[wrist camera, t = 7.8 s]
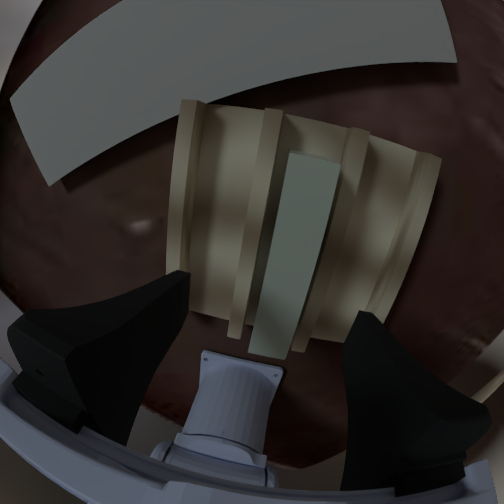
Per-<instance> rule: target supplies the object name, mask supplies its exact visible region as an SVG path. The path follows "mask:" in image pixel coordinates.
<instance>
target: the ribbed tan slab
mask: <svg viewBox="0 0 504 504" xmlns="http://www.w3.org/2000/svg"><path fill="white" fill-rule="evenodd" d="M291 149H292V150H297V151H302V152H306V153H311V154H315V155H319V156H324V157H328V158H330V159H332V160H334V161H335V162H337V163H339V164H341V167H340V171H339V176H338V180H337V185H336V189H335V193H334V197H333V201H332V205H331V209H330V213H329V217H328V221H327V225H326V229H325V233H324V236H323V240H322V244H321V247H320V251H319V255H318V258H317V262H316V265H315V269H314V272H313V275H312V279H311V282H310V285H309V289H308V292H307V295H306V298H305V302H304V305H303V308H302V311H301V314H300V317H299V320H298V323H297V326H296V329H295V332H294V335H293V338H292V349H291V350H293V351H298V352H304V351H305V349H306V346H307V344H308V341H309V339H310V337H312V338H318V339H323V340H329V341H335V342H342V343H344V341H345V339H346V337H347V335H348V333H349V331H350V329H351V327H352V325H353V322H354V320H355V318H356V316H357V314H358V311H359V310H361V311H366V312H372V313H373V314H374V315H375V316H376V317H377V318H378V319H379V320H380V321H381V322H382V323H384V321H385V319H386V317H387V315H388V313H389V311H390V309H391V306H392V304H393V302H394V300H395V298H396V296H397V293H398V291H399V289H400V287H401V284H402V282H403V280H404V277H405V275H406V272H407V270H408V267H409V265H410V262H411V260H412V257H413V254H414V252H415V249H416V246H417V244H418V241H419V238H420V235H421V232H422V229H423V226H424V223H425V220H426V217H427V214H428V210H429V207H430V204H431V200H432V197H433V193H434V189H435V186H436V182H437V178H438V174H439V169H440V165H441V160H442V159H441V158H439V157H437V156H434V155H432V154H430V153H424V152H418V151H415V150H412V149H409V148H407V147H404V146H401V145H398V144H396V143H393V142H390V141H387V140H384V139H381V138H378V137H375V136H372V135H370V132H369V131H365V130H362V129H359V128H355V127H351V128H344V127H340V126H337V125H333V124H329V123H325V122H320V121H316V120H312V119H307V118H303V117H298V116H293V115H288V114H284V111H283V110H277V109H271V108H265V110H258V109H251V108H244V107H236V106H227V105H217V104H207V103H206V104H204V102H201V101H199V100H188V99H182V100H181V106H180V112H179V119H178V126H177V133H176V141H175V149H174V158H173V167H172V177H171V188H170V200H169V214H168V231H167V256H166V275H167V274H169V273H171V272H173V271H176V270H181V271H185V272H189V273H191V280H190V294H189V310H191V311H195V312H199V313H203V314H206V315H210V316H214V317H218V318H222V319H226V320H230V321H229V328H228V334H227V337H231V338H236V339H240V338H241V334H242V331H243V327H244V324H248V325H252V326H254V323H255V318H256V314H257V309H258V305H259V300H260V295H261V291H262V286H263V281H264V277H265V272H266V267H267V262H268V258H269V253H270V248H271V243H272V238H273V233H274V228H275V223H276V218H277V214H278V209H279V204H280V198H281V193H282V188H283V183H284V178H285V173H286V168H287V162H288V157H289V152H290V150H291Z"/></svg>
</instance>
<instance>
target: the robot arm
mask: <svg viewBox="0 0 504 504" xmlns="http://www.w3.org/2000/svg"><path fill="white" fill-rule="evenodd" d="M190 280H191V273H189V272H185V271H181V270H176V271H173V272H171V273H169V274H167V275H165V276H163V277H161V278H159V279H156V280H154V281H152V282H150V283H148V284H146V285H144V286H142V287H139V288H137V289H134V290H132V291H130V292H127V293H125V294H122V295H119V296H117V297H114V298H110V299H107V300H104V301H100V302H96V303H91V304H86V305H82V306H76V307H69V308H60V309H29V310H27V311H26V312H25V313H24V314H23V315H22V316H20V318H18V319H17V320H16V321H15V322H14V323H13V324H12V325H11V326H9V327H8V331H7V336H8V341H9V343H10V346H11V348H12V350H13V352H14V354H15V356H16V358H17V360H18V362H19V364H20V366H21V368H22V370H23V371H22V372H21V373H20V374H19V375H18V374H17V373H16V372H15V370H14V369H13V368H12V367H10V366H9V365H8V364H7V363H6V362H5V361H3V360H2V359H1V358H0V437H1V438H2V439H3V440H4V441H5V442H6V443H7V444H8V445H9V446H10V447H11V448H12V449H14V450H15V451H16V452H17V453H18V454H19V455H20V456H22V457H23V458H24V459H25V460H26V461H28V462H29V463H30V464H31V465H32V466H34V467H35V468H36V469H38V470H39V471H40V472H41V473H43V474H44V475H46V476H47V477H48V478H49V479H51V480H52V481H54V482H55V483H57V484H58V485H60V486H61V487H63V488H64V489H66V490H67V491H69V492H70V493H72V494H74V495H75V496H77V497H78V498H80V499H82V500H83V501H85V502H87V504H497V503H498V501H497V496H496V491H495V486H494V482H493V478H492V474H491V470H490V467H489V463H488V460H487V459H483V460H480V461H477V462H474V463H471V464H469V465H467V466H465V467H464V466H463V462H462V461H464V460H466V458H467V456H466V452H465V451H466V450H467V449H469V448H470V447H471V446H472V445H473V444H475V443H476V442H477V441H478V440H479V439H480V438H481V437H482V436H483V435H484V434H485V433H486V432H487V431H488V429H489V428H490V426H491V424H492V418H491V416H490V413H489V411H488V409H487V407H486V405H484V404H482V403H479V402H477V401H475V400H473V399H471V398H468V397H467V396H465V395H463V394H461V393H460V392H458V391H456V390H454V389H453V388H451V387H450V386H448V385H447V384H445V383H444V382H443V381H441V380H440V379H438V378H437V377H436V376H434V375H433V374H432V373H431V372H429V371H428V370H427V369H426V368H425V367H424V366H422V365H421V364H420V363H419V362H418V361H417V360H416V359H415V358H414V357H413V356H412V355H411V354H410V353H409V352H408V351H407V350H406V349H405V348H404V347H403V346H402V345H401V344H400V343H399V341H398V340H397V339H396V338H395V337H394V336H393V335H392V334H391V333H390V331H389V330H388V329H387V328H386V327H385V326H384V325H383V323H382V322H381V321H380V320H379V319H378V318H377V317H376V316H375V315H374V314H373V313H372V312H366V311H361V310H359V311H358V314H357V316H356V318H355V320H354V322H353V325H352V327H351V329H350V331H349V333H348V335H347V337H346V339H345V341H344V343H343V345H342V366H343V374H344V382H345V389H346V397H347V405H348V438H347V450H346V459H345V466H344V473H343V478H342V483H341V487H340V491H305V490H290V489H280V488H279V479H278V475H277V474H276V472H275V471H274V469H273V467H271V466H266V460H267V456H266V455H262V452H263V446H264V440H265V433H266V427H267V420H268V413H269V407H270V405H271V402H272V400H273V397H274V395H275V392H276V390H277V387H278V385H279V382H280V380H281V377H282V375H283V368H281V367H277V366H272V365H267V364H262V363H257V362H253V361H248V360H244V359H239V358H235V357H231V356H227V355H223V354H219V353H215V352H211V351H207V350H204V351H203V352H202V354H201V367H200V384H199V389H198V392H197V395H196V397H195V400H194V402H193V405H192V408H191V410H190V413H189V415H188V418H187V420H186V423H185V426H184V428H183V431H182V433H177V436H176V438H175V441H174V442H173V441H170V440H165V441H164V442H162V443H159V444H158V445H157V446H156V447H155V449H154V451H153V452H152V454H151V456H150V457H149V456H146V455H144V454H141V453H139V452H136V451H134V450H132V449H129V448H127V447H126V445H127V441H128V438H129V435H130V432H131V429H132V426H133V423H134V421H135V418H136V415H137V412H138V410H139V407H140V405H141V402H142V400H143V398H144V395H145V393H146V390H147V388H148V386H149V384H150V381H151V379H152V377H153V375H154V373H155V371H156V369H157V367H158V366H159V364H160V362H161V361H162V359H163V358H164V356H165V354H166V353H167V351H168V350H169V348H170V346H171V345H172V343H173V342H174V340H175V338H176V337H177V335H178V333H179V332H180V330H181V328H182V326H183V323H184V321H185V319H186V316H187V314H188V311H189V294H190ZM206 358H207V359H206ZM276 374H278V375H276Z"/></svg>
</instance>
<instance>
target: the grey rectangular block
mask: <svg viewBox="0 0 504 504" xmlns="http://www.w3.org/2000/svg"><path fill="white" fill-rule="evenodd" d="M400 62H451V63H457V59H456V54H455V49H454V45H453V41H452V37H451V33H450V29H449V26H448V22H447V19H446V16H445V13H444V9H443V6H442V3H441V1H440V0H123V1H121V2H119V3H118V4H116V5H115V6H113V7H112V8H110V9H109V10H107V11H106V12H104V13H103V14H101V15H100V16H98V17H97V18H95V19H94V20H93V21H91V22H90V23H89V24H87V25H86V26H85V27H83V28H82V29H81V30H79V31H78V32H77V33H76V34H74V35H73V36H72V37H71V38H70V39H68V40H67V41H66V42H65V43H64V44H63V45H61V46H60V47H59V48H58V49H57V50H56V51H55V52H54V53H53V54H51V55H50V56H49V57H48V58H47V59H46V60H45V61H44V62H43V63H42V64H41V65H40V66H39V67H38V68H37V69H36V70H35V71H34V72H33V73H32V74H31V75H30V76H29V78H28V79H27V80H26V81H25V82H24V83H23V84H22V85H21V86H20V88H19V89H18V90H17V91H16V92H15V93H14V95H13V96H12V97H11V98H10V102H11V105H12V107H13V110H14V113H15V115H16V118H17V120H18V123H19V125H20V128H21V130H22V132H23V135H24V137H25V139H26V141H27V144H28V146H29V148H30V150H31V152H32V154H33V156H34V159H35V161H36V163H37V165H38V167H39V169H40V171H41V172H42V174H43V176H44V178H45V180H46V182H47V184H48V186H50V185H52V184H53V183H54V182H56V181H57V180H59V179H60V178H62V177H63V176H65V175H66V174H68V173H69V172H71V171H72V170H74V169H75V168H77V167H78V166H80V165H82V164H83V163H85V162H86V161H88V160H90V159H91V158H93V157H95V156H96V155H98V154H100V153H102V152H103V151H105V150H107V149H109V148H110V147H112V146H114V145H116V144H118V143H120V142H121V141H123V140H125V139H127V138H129V137H131V136H133V135H135V134H137V133H139V132H141V131H143V130H145V129H147V128H149V127H151V126H153V125H156V124H158V123H160V122H162V121H164V120H167V119H169V118H171V117H174V116H176V115H178V114H179V112H180V106H181V100H182V99H188V100H199V101H201V102H204V104H206V103H209V102H211V101H214V100H217V99H220V98H223V97H226V96H229V95H232V94H235V93H238V92H241V91H244V90H247V89H251V88H254V87H258V86H261V85H265V84H269V83H272V82H276V81H280V80H284V79H288V78H293V77H297V76H302V75H306V74H311V73H317V72H322V71H328V70H334V69H340V68H347V67H354V66H363V65H372V64H384V63H400Z"/></svg>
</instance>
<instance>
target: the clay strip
mask: <svg viewBox="0 0 504 504" xmlns="http://www.w3.org/2000/svg"><path fill="white" fill-rule="evenodd" d="M340 167H341V164H339V163H337V162H335V161H334V160H332V159H330V158H328V157H324V156H319V155H315V154H311V153H306V152H302V151H297V150H292V149H291V150H290V152H289V157H288V162H287V168H286V173H285V178H284V183H283V188H282V193H281V198H280V204H279V209H278V214H277V218H276V223H275V228H274V233H273V238H272V243H271V248H270V253H269V258H268V262H267V267H266V272H265V277H264V281H263V286H262V291H261V295H260V300H259V305H258V309H257V314H256V318H255V323H254V327H253V332H252V336H251V341H250V345H249V350H248V352H249V353H254V354H258V355H263V356H268V357H273V358H278V359H283V360H285V358H286V355H287V353H288V350H289V347H290V344H291V341H292V338H293V335H294V332H295V329H296V326H297V323H298V320H299V317H300V314H301V311H302V308H303V305H304V302H305V298H306V295H307V292H308V289H309V285H310V282H311V279H312V275H313V272H314V269H315V265H316V262H317V258H318V255H319V251H320V247H321V244H322V240H323V236H324V233H325V229H326V225H327V221H328V217H329V213H330V209H331V205H332V201H333V197H334V193H335V189H336V185H337V180H338V176H339V171H340Z"/></svg>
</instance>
